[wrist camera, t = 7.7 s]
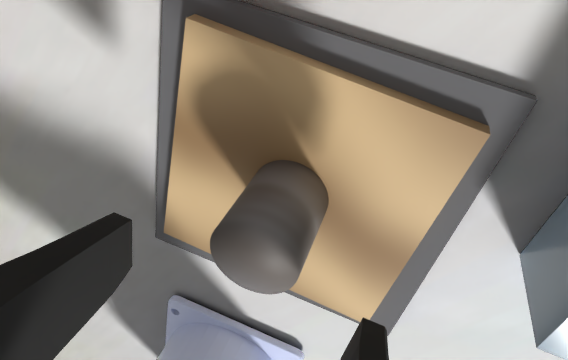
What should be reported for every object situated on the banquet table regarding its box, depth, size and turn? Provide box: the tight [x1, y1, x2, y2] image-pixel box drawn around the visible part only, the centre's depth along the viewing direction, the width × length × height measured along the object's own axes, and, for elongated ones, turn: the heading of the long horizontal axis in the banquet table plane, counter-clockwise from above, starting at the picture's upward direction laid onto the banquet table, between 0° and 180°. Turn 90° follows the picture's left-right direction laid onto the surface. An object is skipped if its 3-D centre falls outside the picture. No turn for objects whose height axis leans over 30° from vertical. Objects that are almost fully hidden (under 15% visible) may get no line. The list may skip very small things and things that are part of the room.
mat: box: [155, 0, 537, 336], centre depth 16 cm, size 12×12×1 cm
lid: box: [164, 14, 490, 322], centre depth 15 cm, size 10×10×4 cm
